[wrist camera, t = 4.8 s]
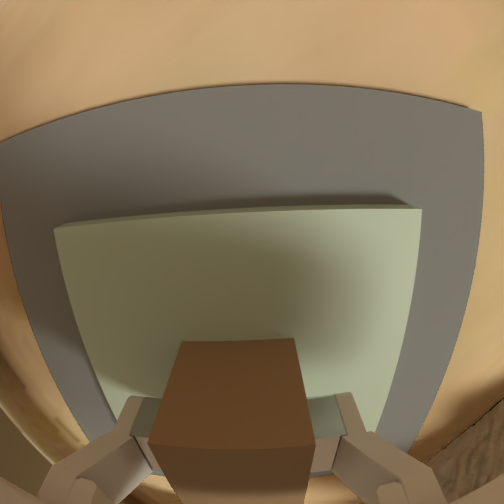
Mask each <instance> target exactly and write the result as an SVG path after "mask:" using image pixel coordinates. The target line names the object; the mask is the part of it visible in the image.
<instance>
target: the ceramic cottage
mask: <svg viewBox="0 0 504 504" xmlns="http://www.w3.org/2000/svg"><path fill="white" fill-rule="evenodd" d="M425 465H427V466H428V467H430V468H432V470H433V472H434V475H435V477H436V479H437V481H438V484H439V486H440V488H441V490H442V493H443V495H444V497H445V500H446V502H447V504H449V503H451V502H453V501H455V500H457V499H459V498H461V497H463V496H465V495H467V494H469V493H471V492H473V491H474V490H476V489H478V488H480V487H482V486H483V485H485V484H487V483H488V482H490V481H492V480H493V479H495V478H497V477H498V476H500V475H501V474H503V473H504V399H502V400H501V402H499V403H498V404H497V405H496V406H495V407H494V408H493V409H492V410H491V411H488V412H487V413H486V414H485V415H484V416H483V417H482V418H481V419H480V420H479V421H478V422H477V423H475V425H474V426H471V427H469V428H468V430H466V431H465V432H463V433H462V434H461V435H460V436H458V437H457V438H456V439H455V440H453V441H452V442H451V443H450V445H448V446H447V447H446V448H445V449H442V450H441V451H440V452H438V453H437V454H436V455H435V456H434V457H433V458H432V459H431V460H429V461H428V462H427V463H426V464H425Z"/></svg>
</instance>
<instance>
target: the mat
mask: <svg viewBox="0 0 504 504" xmlns="http://www.w3.org/2000/svg"><path fill="white" fill-rule="evenodd" d="M483 191H484V139H483V123H482V112H479V111H476V110H472V109H469V108H465V107H462V106H458V105H454V104H450V103H446V102H442V101H437V100H433V99H428V98H423V97H418V96H412V95H407V94H401V93H395V92H388V91H381V90H373V89H364V88H355V87H343V86H329V85H306V84H264V85H241V86H226V87H215V88H205V89H196V90H188V91H181V92H174V93H167V94H161V95H155V96H150V97H145V98H140V99H135V100H130V101H125V102H121V103H117V104H112V105H108V106H104V107H100V108H97V109H93V110H89V111H86V112H82V113H79V114H75V115H72V116H69V117H66V118H63V119H60V120H57V121H54V122H51V123H48V124H45V125H42V126H40V127H37V128H34V129H32V130H29V131H26V132H24V133H21V134H19V135H17V136H14V137H12V138H9V139H7V140H5V141H3V142H0V203H1V211H2V217H3V224H4V229H5V235H6V240H7V245H8V250H9V254H10V259H11V263H12V267H13V271H14V275H15V278H16V282H17V285H18V289H19V292H20V296H21V299H22V302H23V305H24V308H25V311H26V314H27V317H28V320H29V322H30V325H31V328H32V330H33V333H34V336H35V338H36V341H37V343H38V346H39V348H40V350H41V353H42V355H43V357H44V360H45V362H46V364H47V366H48V368H49V371H50V373H51V375H52V377H53V379H54V381H55V383H56V385H57V387H58V389H59V391H60V393H61V395H62V396H63V398H64V400H65V402H66V404H67V406H68V407H69V409H70V411H71V413H72V414H73V416H74V418H75V419H76V421H77V423H78V424H79V426H80V428H81V429H82V431H83V432H84V434H85V435H86V437H87V439H88V440H89V442H90V443H91V442H92V441H94V440H95V439H97V438H99V437H100V436H102V435H103V434H105V433H106V432H111V433H112V431H113V429H114V426H115V424H116V422H117V420H116V418H115V416H114V414H113V412H112V410H111V407H110V405H109V403H108V401H107V399H106V397H105V395H104V393H103V390H102V388H101V386H100V383H99V381H98V379H97V376H96V374H95V372H94V369H93V367H92V364H91V362H90V359H89V357H88V354H87V351H86V349H85V346H84V343H83V340H82V337H81V335H80V332H79V329H78V326H77V323H76V320H75V316H74V313H73V310H72V306H71V303H70V300H69V296H68V292H67V289H66V285H65V281H64V277H63V273H62V269H61V264H60V260H59V255H58V250H57V246H56V240H55V235H54V228H56V227H59V226H61V225H63V224H66V223H71V222H80V221H88V220H97V219H107V218H116V217H126V216H137V215H148V214H160V213H172V212H185V211H199V210H214V209H231V208H250V207H273V206H301V205H350V204H402V205H412V206H415V207H418V208H421V209H422V218H421V231H420V242H419V251H418V260H417V268H416V275H415V282H414V288H413V294H412V300H411V305H410V310H409V316H408V320H407V325H406V330H405V334H404V339H403V343H402V347H401V351H400V355H399V359H398V363H397V366H396V370H395V373H394V377H393V380H392V384H391V387H390V390H389V393H388V397H387V400H386V403H385V406H384V409H383V412H382V414H381V417H380V420H379V423H378V425H377V428H376V431H375V434H377V435H378V436H380V437H382V438H383V439H385V440H386V441H388V442H389V443H391V444H392V445H394V446H396V447H397V448H399V449H400V450H402V451H403V452H405V453H408V451H409V449H410V447H411V446H412V444H413V442H414V440H415V438H416V436H417V434H418V432H419V431H420V429H421V427H422V425H423V423H424V421H425V419H426V417H427V414H428V412H429V410H430V408H431V406H432V404H433V401H434V399H435V397H436V395H437V392H438V390H439V387H440V385H441V383H442V380H443V378H444V375H445V372H446V370H447V367H448V364H449V362H450V359H451V356H452V353H453V350H454V347H455V344H456V341H457V338H458V334H459V331H460V328H461V324H462V321H463V317H464V313H465V310H466V306H467V302H468V297H469V293H470V289H471V284H472V279H473V274H474V269H475V263H476V257H477V251H478V244H479V237H480V228H481V219H482V207H483ZM152 471H153V472H152V473H151V474H152V475H159V476H165V475H164V473H163V472H162V471H155V470H152ZM331 474H334V473H333V472H332V470H328V471H320V472H310V476H309V478H310V477H317V476H325V475H331Z"/></svg>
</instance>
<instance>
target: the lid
mask: <svg viewBox="0 0 504 504" xmlns="http://www.w3.org/2000/svg"><path fill="white" fill-rule="evenodd" d="M421 218H422V209H421V208H418V207H415V206H412V205H402V204H350V205H301V206H273V207H250V208H231V209H214V210H199V211H185V212H172V213H160V214H148V215H137V216H126V217H116V218H107V219H97V220H88V221H80V222H71V223H66V224H63V225H61V226H59V227H56V228H54V235H55V240H56V246H57V250H58V255H59V260H60V264H61V269H62V273H63V277H64V281H65V285H66V289H67V292H68V296H69V300H70V303H71V306H72V310H73V313H74V316H75V320H76V323H77V326H78V329H79V332H80V335H81V337H82V340H83V343H84V346H85V349H86V351H87V354H88V357H89V359H90V362H91V364H92V367H93V369H94V372H95V374H96V376H97V379H98V381H99V383H100V386H101V388H102V390H103V393H104V395H105V397H106V399H107V401H108V403H109V405H110V407H111V410H112V412H113V414H114V416H115V418H116V420H118V418H119V415H120V413H121V411H122V409H123V407H124V405H125V402H126V400H127V398H128V397H130V396H131V395H134V396H141V397H151V398H160V399H162V400H161V403H160V406H159V409H158V412H157V415H156V418H155V421H154V424H153V427H152V430H151V433H150V436H149V439H148V442H147V444H148V446H149V448H150V450H151V451H152V453H153V455H154V457H155V459H156V461H157V463H158V464H159V466H160V468H161V470H162V472H163V473H164V475H165V477H166V478H167V480H168V482H169V483H170V485H171V487H172V488H173V490H174V492H175V493H176V495H177V496H178V498H179V499H180V501H181V503H182V504H303V502H304V498H305V494H306V490H307V485H308V481H309V476H310V472H311V467H312V462H313V457H314V452H315V447H316V443H315V438H314V432H313V427H312V422H311V417H310V412H309V407H308V402H307V397H315V396H323V395H330V394H332V395H333V394H338V393H345V392H351V393H352V395H353V397H354V400H355V402H356V405H357V408H358V410H359V413H360V416H361V418H362V421H363V424H364V426H365V429H366V432H368V431H372V432H374V433H375V431H376V428H377V425H378V423H379V420H380V417H381V414H382V412H383V409H384V406H385V403H386V400H387V397H388V393H389V390H390V387H391V384H392V380H393V377H394V373H395V370H396V366H397V363H398V359H399V355H400V351H401V347H402V343H403V339H404V334H405V330H406V325H407V320H408V316H409V310H410V305H411V300H412V294H413V288H414V282H415V275H416V268H417V260H418V251H419V242H420V231H421Z"/></svg>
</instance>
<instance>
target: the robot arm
mask: <svg viewBox="0 0 504 504" xmlns="http://www.w3.org/2000/svg"><path fill="white" fill-rule="evenodd" d="M161 400H162V399H160V398H151V397H141V396H134V395H131V396H130V397H128V398H127V400H126V402H125V405H124V407H123V409H122V411H121V413H120V415H119V418H118V420H117V422H116V424H115V426H114V429H113V431H112V433H111V432H106V433H105V434H103V435H102V436H100V437H99V438H97V439H95V440H94V441H92V442H91V443H89V444H87V445H86V446H84V447H83V448H81V449H79V450H78V451H76V452H74V453H73V454H71V455H69V456H68V457H66V458H64V459H63V460H61V461H59V462H57V463H56V464H54V465H52V467H51V469H50V471H49V473H48V475H47V477H46V479H45V481H44V483H43V485H42V487H41V489H40V491H39V493H38V495H37V497H35V496H33V495H31V494H29V493H27V492H25V491H23V490H21V489H20V488H18V487H16V486H15V485H13V484H11V483H10V482H8V481H6V480H5V479H3V478H1V477H0V504H118V503H120V502H121V501H122V500H123V499H124V498H125V497H126V496H127V495H128V494H130V493H131V492H132V491H133V490H134V489H135V488H136V487H137V486H138V485H139V484H140V483H141V482H142V481H144V480H145V479H146V478H147V477H148V476H149V475H150V474H151V473H152V472H153V471H152V470H155V471H162V470H161V468H160V466H159V464H158V463H157V461H156V459H155V457H154V455H153V453H152V451H151V450H150V448H149V446H148V444H147V442H148V439H149V436H150V433H151V430H152V427H153V424H154V421H155V418H156V415H157V412H158V409H159V406H160V403H161ZM307 402H308V407H309V412H310V417H311V422H312V427H313V432H314V438H315V443H316V447H315V452H314V457H313V462H312V467H311V472H320V471H328V470H332V472H333V473H334V474H335V475H336V476H337V477H338V478H339V479H340V480H341V481H342V482H343V483H344V484H345V485H346V486H347V487H348V488H349V489H350V490H351V491H352V492H354V493H355V494H356V495H357V496H358V497H359V498H360V499H361V500H362V501H363V502H365V503H366V504H447V502H446V500H445V497H444V495H443V493H442V490H441V488H440V486H439V484H438V481H437V479H436V477H435V475H434V472H433V470H432V468H430V467H428V466H427V465H425V464H423V463H422V462H420V461H418V460H417V459H415V458H413V457H412V456H410V455H408V454H407V453H405V452H403V451H402V450H400V449H399V448H397V447H396V446H394V445H392V444H391V443H389V442H388V441H386V440H385V439H383V438H382V437H380V436H378V435H377V434H375V433H374V432H372V431H368V432H366V429H365V426H364V424H363V421H362V418H361V416H360V413H359V410H358V408H357V405H356V402H355V400H354V397H353V395H352V393H351V392H345V393H338V394H333V395H332V394H330V395H323V396H315V397H307ZM449 504H504V473H503V474H501V475H500V476H498V477H497V478H495V479H493V480H492V481H490V482H488V483H487V484H485V485H483V486H482V487H480V488H478V489H476V490H474V491H473V492H471V493H469V494H467V495H465V496H463V497H461V498H459V499H457V500H455V501H453V502H451V503H449Z"/></svg>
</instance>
